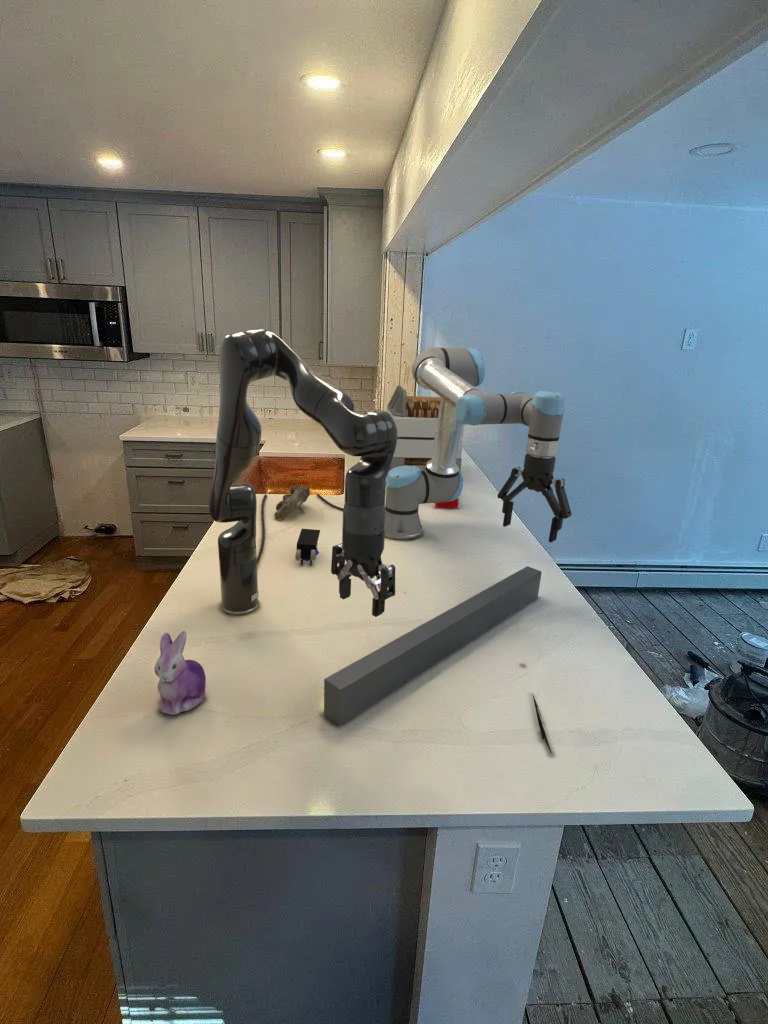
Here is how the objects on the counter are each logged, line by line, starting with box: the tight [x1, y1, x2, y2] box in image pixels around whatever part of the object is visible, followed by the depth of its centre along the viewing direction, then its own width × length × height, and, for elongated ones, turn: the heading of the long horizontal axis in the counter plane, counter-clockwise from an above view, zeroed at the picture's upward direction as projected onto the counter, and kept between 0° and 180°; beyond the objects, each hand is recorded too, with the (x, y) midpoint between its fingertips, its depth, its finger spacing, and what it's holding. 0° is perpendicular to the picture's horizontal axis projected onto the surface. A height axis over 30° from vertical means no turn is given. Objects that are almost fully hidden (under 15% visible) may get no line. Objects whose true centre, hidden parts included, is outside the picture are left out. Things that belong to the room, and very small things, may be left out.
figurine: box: [153, 630, 207, 716], centre depth 109 cm, size 9×10×15 cm
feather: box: [522, 663, 555, 753], centre depth 115 cm, size 2×28×2 cm
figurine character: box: [295, 528, 321, 566], centre depth 176 cm, size 7×8×15 cm
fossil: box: [273, 484, 311, 521], centre depth 215 cm, size 22×10×15 cm
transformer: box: [386, 384, 465, 473], centre depth 268 cm, size 34×33×41 cm
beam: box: [323, 565, 542, 726], centre depth 133 cm, size 75×5×8 cm, turn 137°
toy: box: [434, 496, 460, 509], centre depth 239 cm, size 12×13×30 cm
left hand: (361, 606), depth 105 cm, fingers open, 8 cm apart
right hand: (528, 532), depth 150 cm, fingers open, 13 cm apart
